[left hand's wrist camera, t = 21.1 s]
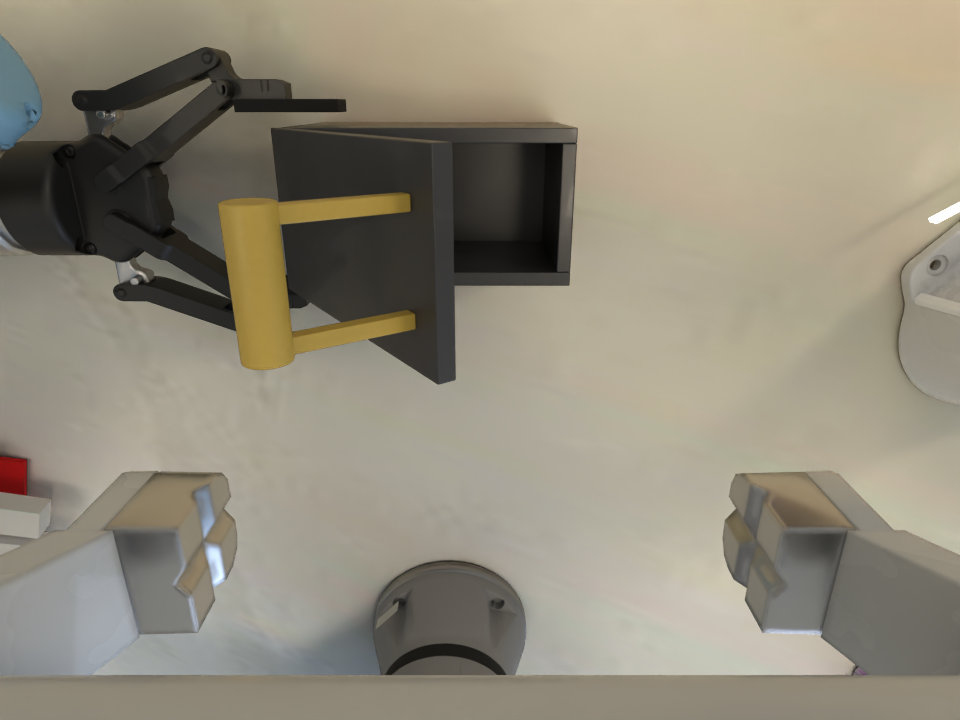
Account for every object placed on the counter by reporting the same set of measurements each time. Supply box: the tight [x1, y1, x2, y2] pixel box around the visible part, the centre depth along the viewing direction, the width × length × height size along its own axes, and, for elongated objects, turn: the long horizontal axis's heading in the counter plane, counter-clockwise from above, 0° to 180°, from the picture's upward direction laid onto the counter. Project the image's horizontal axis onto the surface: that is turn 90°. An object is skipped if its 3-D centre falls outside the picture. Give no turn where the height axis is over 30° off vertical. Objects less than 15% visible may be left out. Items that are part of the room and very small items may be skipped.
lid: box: [218, 128, 456, 384], centre depth 30 cm, size 18×10×8 cm
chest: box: [283, 122, 578, 286], centre depth 45 cm, size 18×10×11 cm, turn 90°
